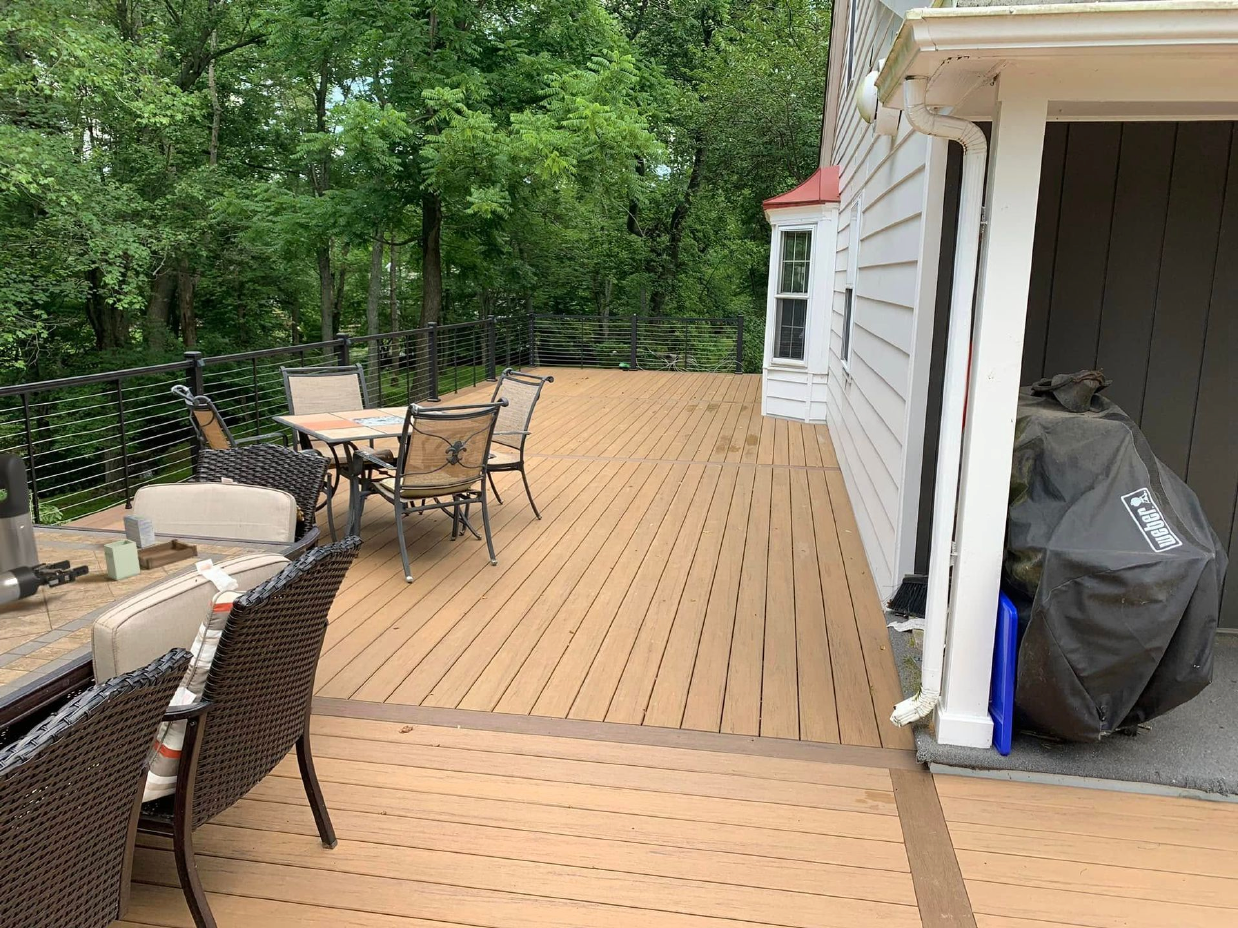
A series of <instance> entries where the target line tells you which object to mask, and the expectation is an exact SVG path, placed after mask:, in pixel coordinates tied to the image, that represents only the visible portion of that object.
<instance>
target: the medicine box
mask: <svg viewBox="0 0 1238 928" xmlns="http://www.w3.org/2000/svg"><path fill="white" fill-rule="evenodd" d="M123 525H124V530H125V539H128V540H131V541H134V542H136V547H137V548H141V549H144V548H148V547H152V546H156V544H157V542H156V537H155V531H154V522H153V518H152V516H150V515H147V514H146V515H145V514H141V513H133V514H128V515H126V516H123Z"/></svg>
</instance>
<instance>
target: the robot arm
mask: <svg viewBox="0 0 1238 928" xmlns="http://www.w3.org/2000/svg"><path fill="white" fill-rule="evenodd" d="M0 490H6V496H5V497H4V498H3V499H0V606H1V605H6V604H10V603H13V602H16V601H19V600H23V599H26V598H29V597H34V596H35V595H36V594H37V593H38V589H39V587H49V588H50V589H53V588H55V587H60V586H63V585H66V584H71V583H74V582H76V579H77V578H78V577H81V576H85V575H87V574H90V568H89V566H88V565H86V564H84V565H81V566H80V565H79V566H76V567H73V568H71V562H70V560H67V559H65V560H62V561H59V562H54V563H52V562H50V563H46V562H42V563H40V560H39V559H40V558H39V554H38V552H39V551H38V548H37V543H36V542H37V541H36V536H35V531H34V526H33V519H32V515H31V514H32V513H31V509H30V492H29V483H28V475H27V468H26V464H25V461H24V459H23V457H22V456H21V455H19V454H18V453H2V454H1V453H0ZM66 576H68V577H66Z"/></svg>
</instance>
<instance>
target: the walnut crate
mask: <svg viewBox="0 0 1238 928" xmlns="http://www.w3.org/2000/svg"><path fill="white" fill-rule="evenodd" d="M197 547H198V546H197V545H194V544H193V545H191V544H189V543H186V542H182V541H179V540H178V539H177V538H174V539H171V540H170V541H167V542H163V543H160V544H157V545H156V544H155V545H151V546H148V547H144V548H141V549H137V554H138V560H139V567H142V568H144V569H147V570H153V569H157V568H160V567H164V566H167V565H171V564H175V563H177V562H181V561H184V560H189V559H192V558H194V557H193V556H196V557H198V556H199V555H198V554H199V553H198V548H197ZM191 557H192V558H191ZM188 558H189V559H188Z"/></svg>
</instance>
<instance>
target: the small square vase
mask: <svg viewBox="0 0 1238 928" xmlns="http://www.w3.org/2000/svg"><path fill="white" fill-rule="evenodd" d="M103 550H104V551H103V552H104V558H105V564H106V570H107V575H108V578H109V579H112V580H114V581H117V582H119V581H123V580H125V579H126V580H127V579H129V578H133V577H136V576H140V575H141V569H140V567H141V566H139V560H138V554H137V550H138V547H137V546H136V542H134V541H131V540H128V539H126V538H125V539H121V540H118V541H113V542H110V543H106V544H103Z"/></svg>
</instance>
